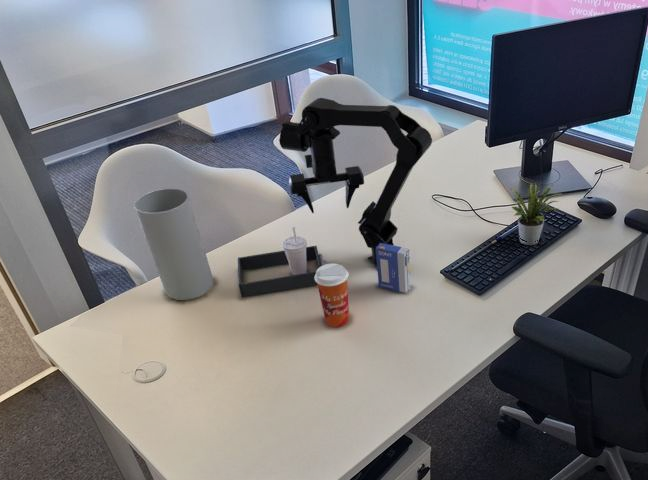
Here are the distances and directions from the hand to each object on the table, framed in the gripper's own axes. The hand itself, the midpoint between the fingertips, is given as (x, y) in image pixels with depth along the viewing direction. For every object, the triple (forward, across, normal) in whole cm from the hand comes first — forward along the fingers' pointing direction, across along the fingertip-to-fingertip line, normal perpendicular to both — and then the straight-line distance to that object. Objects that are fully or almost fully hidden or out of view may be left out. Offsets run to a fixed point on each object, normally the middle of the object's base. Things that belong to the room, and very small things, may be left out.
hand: (330, 210), depth 163 cm
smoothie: (+13, +11, +8) cm, 19 cm away
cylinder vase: (+13, +40, +6) cm, 42 cm away
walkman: (+13, -12, +21) cm, 28 cm away
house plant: (+13, -54, +11) cm, 57 cm away
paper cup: (+13, +4, +31) cm, 34 cm away
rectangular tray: (+13, +16, +8) cm, 22 cm away
